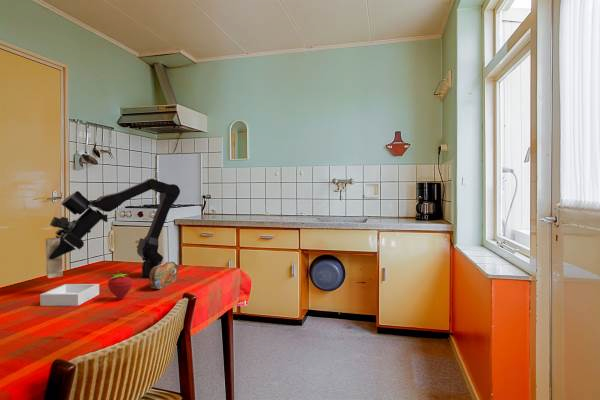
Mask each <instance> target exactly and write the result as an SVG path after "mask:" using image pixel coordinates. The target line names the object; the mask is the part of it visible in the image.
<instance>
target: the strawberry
mask: <svg viewBox="0 0 600 400" xmlns="http://www.w3.org/2000/svg"><path fill="white" fill-rule="evenodd" d="M133 284H134V282H133V279H132V278H131V277H129V276H128V273H119V271H117V274H112V277H110V278H109V280H108V281H107V287H108V289H109V291H110V293H112V295H114V296H115V298H117V300H121V301H122V300H123V299H124V298H125V297H126V295H127V294H129V292H130V291H131V289H132V287H133Z"/></svg>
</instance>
